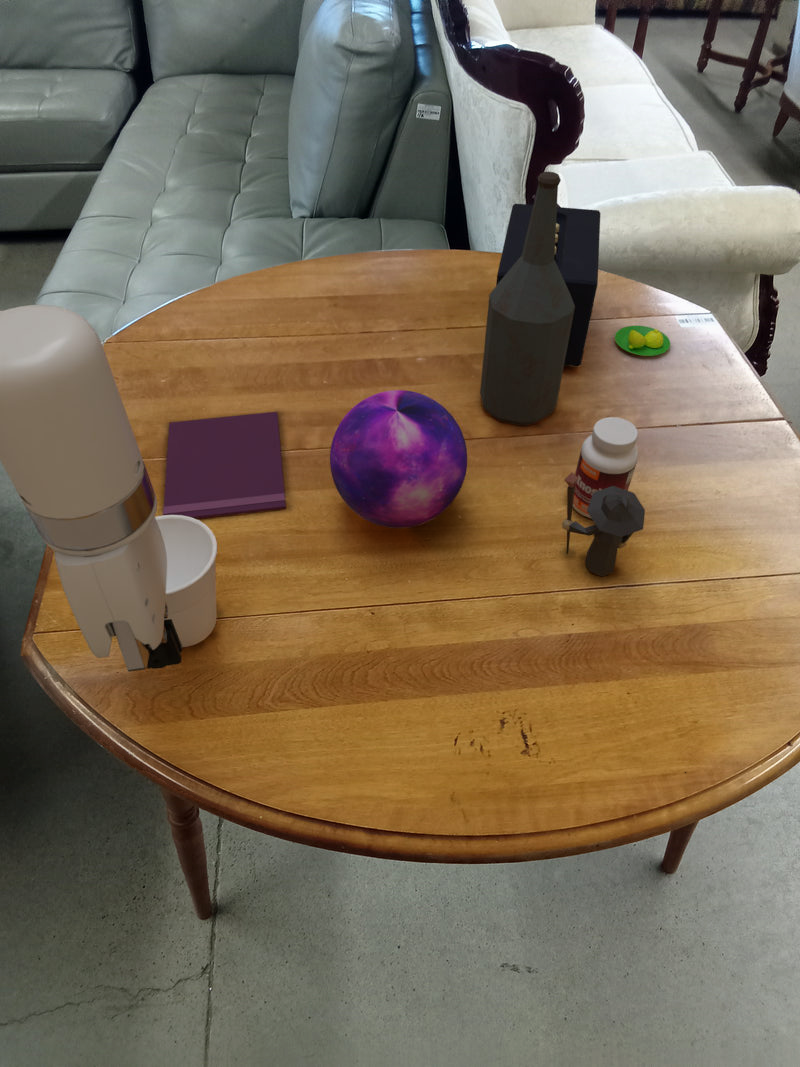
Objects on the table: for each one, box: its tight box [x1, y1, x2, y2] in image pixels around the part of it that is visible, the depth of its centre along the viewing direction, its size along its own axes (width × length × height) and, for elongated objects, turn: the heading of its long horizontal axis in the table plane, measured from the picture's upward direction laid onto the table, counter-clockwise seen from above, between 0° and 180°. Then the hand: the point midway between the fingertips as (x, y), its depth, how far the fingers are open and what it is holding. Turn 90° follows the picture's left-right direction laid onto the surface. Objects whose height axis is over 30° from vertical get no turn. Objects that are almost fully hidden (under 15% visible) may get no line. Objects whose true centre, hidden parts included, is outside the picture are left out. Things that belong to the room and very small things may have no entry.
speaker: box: [495, 203, 601, 368], centre depth 109 cm, size 22×13×15 cm, turn 169°
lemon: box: [614, 325, 671, 357], centre depth 111 cm, size 8×8×3 cm
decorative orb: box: [329, 389, 468, 529], centre depth 83 cm, size 15×15×15 cm
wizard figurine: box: [561, 471, 646, 577], centre depth 78 cm, size 8×6×12 cm
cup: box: [155, 514, 218, 648], centre depth 73 cm, size 10×10×11 cm
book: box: [162, 411, 287, 520], centre depth 93 cm, size 14×18×1 cm
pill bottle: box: [573, 416, 639, 520], centre depth 85 cm, size 6×6×11 cm
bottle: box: [479, 171, 575, 426], centre depth 91 cm, size 10×10×30 cm
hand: (162, 658), depth 62 cm, fingers closed
